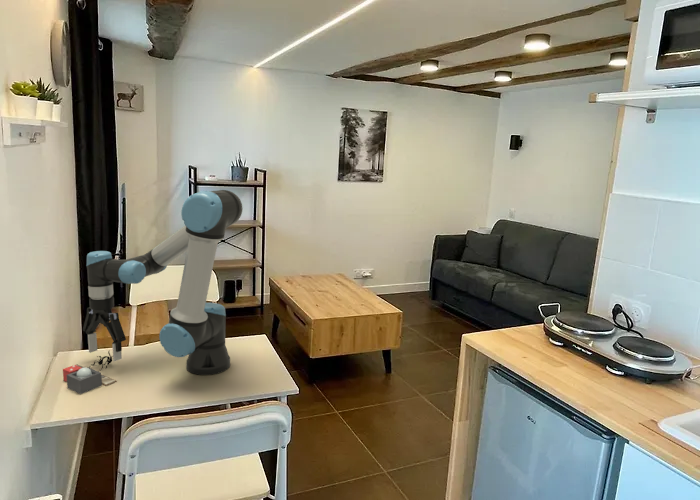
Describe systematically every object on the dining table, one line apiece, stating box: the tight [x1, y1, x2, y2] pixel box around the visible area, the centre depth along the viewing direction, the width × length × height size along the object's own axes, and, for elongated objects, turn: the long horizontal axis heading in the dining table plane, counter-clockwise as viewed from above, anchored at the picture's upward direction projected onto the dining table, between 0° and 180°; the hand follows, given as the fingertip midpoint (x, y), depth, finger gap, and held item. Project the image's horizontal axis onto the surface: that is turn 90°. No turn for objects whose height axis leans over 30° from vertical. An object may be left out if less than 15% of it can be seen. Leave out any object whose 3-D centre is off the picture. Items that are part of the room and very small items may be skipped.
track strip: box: [75, 363, 118, 387], centre depth 162 cm, size 22×4×1 cm, turn 60°
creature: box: [88, 349, 113, 372], centre depth 168 cm, size 8×5×8 cm
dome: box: [77, 367, 92, 379], centre depth 153 cm, size 4×4×5 cm
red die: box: [62, 364, 81, 383], centre depth 158 cm, size 4×4×4 cm
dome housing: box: [66, 366, 103, 395], centre depth 153 cm, size 7×7×4 cm
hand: (105, 355), depth 168 cm, fingers open, 13 cm apart
